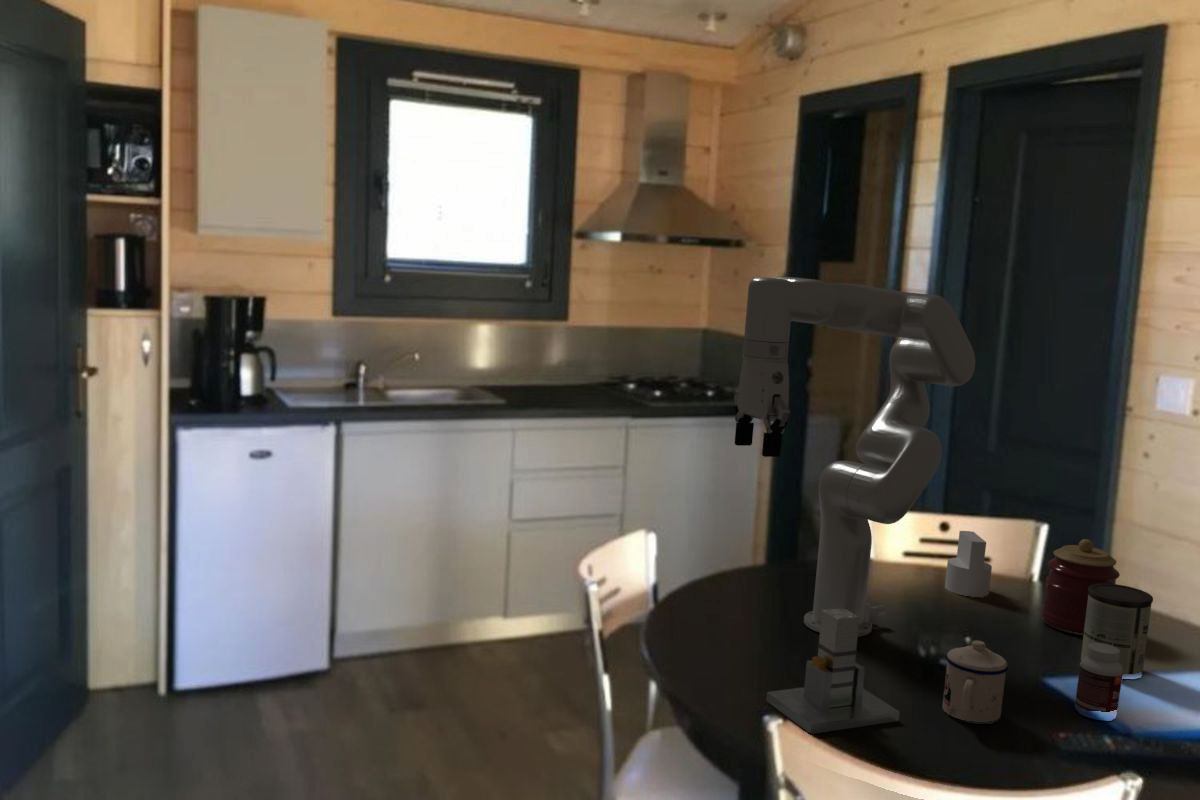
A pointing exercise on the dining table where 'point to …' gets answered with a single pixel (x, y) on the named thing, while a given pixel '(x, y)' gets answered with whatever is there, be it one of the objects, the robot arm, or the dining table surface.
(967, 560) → the cylinder with rectangular tab
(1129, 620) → the coffee can
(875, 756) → the dining table surface
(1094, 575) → the canister
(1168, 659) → the dining table surface
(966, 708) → the teacup with lid
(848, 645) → the column
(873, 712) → the stand
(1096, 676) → the pill bottle
